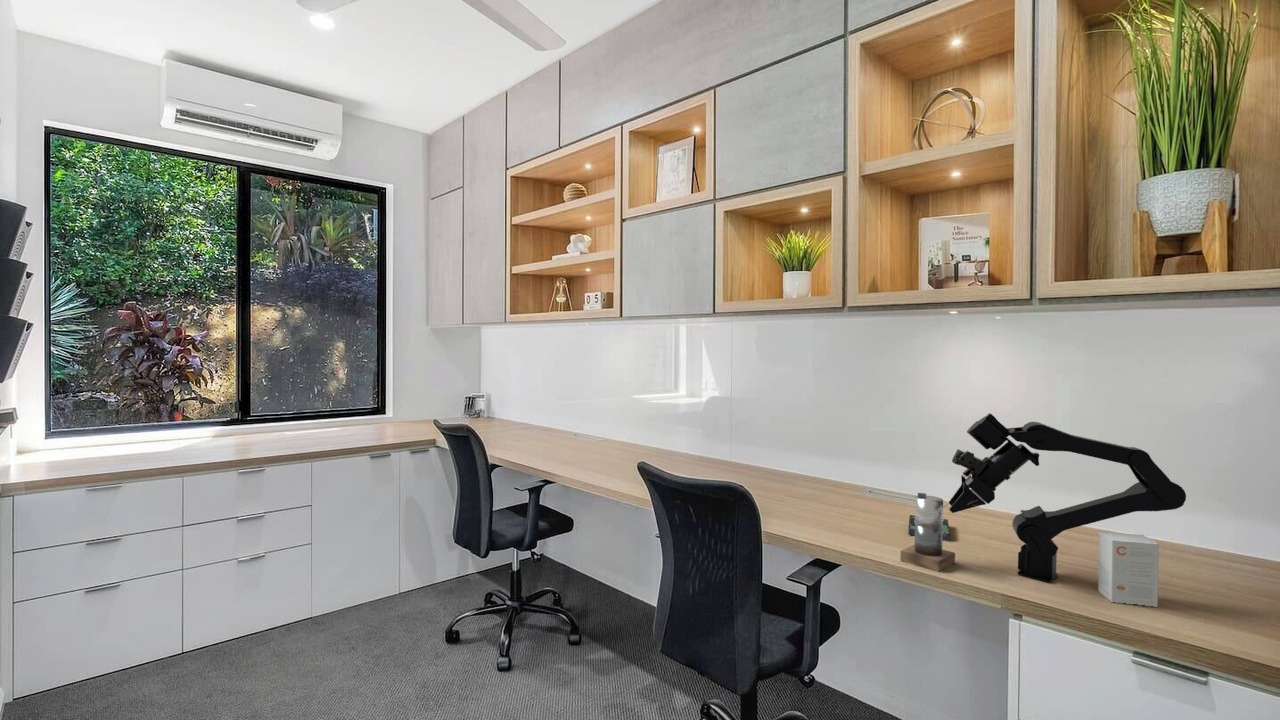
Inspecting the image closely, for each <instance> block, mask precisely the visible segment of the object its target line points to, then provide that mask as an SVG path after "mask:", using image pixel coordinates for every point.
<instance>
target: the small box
mask: <svg viewBox="0 0 1280 720" xmlns="http://www.w3.org/2000/svg"><path fill="white" fill-rule="evenodd" d="M1098 539H1099V540H1098V584H1097V585H1098V586H1097V587H1098V592H1099V593H1100V594H1101V595H1102V594H1103V595H1102V596H1103V597H1105V598H1106V599H1107V598H1108V599H1109V600H1110V601H1109V602H1111V603H1113V602H1115V604H1116V603H1117V604H1123V603H1126V604H1125V605H1133V604H1138V605H1137V606H1142V605H1145V606H1144V607H1151V606H1153V608H1158V606H1159V605H1158V604H1159V568H1160V567H1159V562H1160V560H1159V558H1160V554H1159V553H1160V543H1158V542H1156V541H1155V540H1153V539H1151V538H1149V536H1148V537H1147V536H1146V535H1144V534H1136V533H1135V534H1134V533H1123V532H1121V533H1120V532H1111V531H1110V532H1109V531H1099V533H1098ZM1108 599H1107V600H1108Z"/></svg>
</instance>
